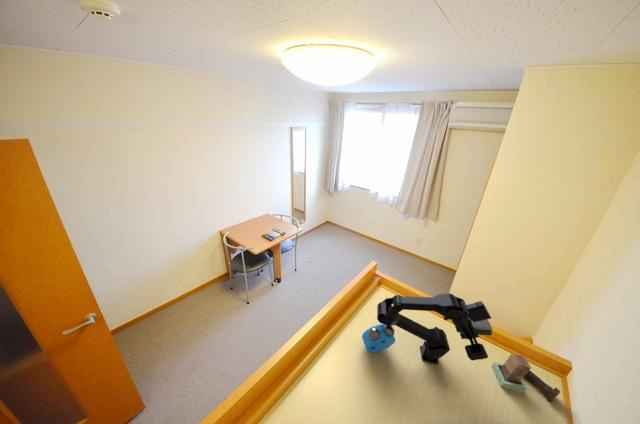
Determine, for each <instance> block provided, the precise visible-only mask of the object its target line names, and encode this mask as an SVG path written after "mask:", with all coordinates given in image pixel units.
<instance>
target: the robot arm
mask: <svg viewBox="0 0 640 424" xmlns="http://www.w3.org/2000/svg"><path fill="white" fill-rule="evenodd" d="M376 308H377V309H376V310H377V311H376V319H377V321H378V322H379V323H380V324H385V325H387V326H392V327H393V326H396V327H398V328H400V329H402V330H403V331H406V332H407V333H410V334H412V335H413V336H415V337H417V338H419V339H422V340H423V342H422V343H423V344H422V345H420V346H419V351H420V355H421V360H422V361H423V362H427V363H430V364H435V365H439V359H441V358H442V357H444V356H445V355H446V354H448V352H450V351H451V347H450V345H449V341H448V337H447V333H446V332H445V331H444V329H441V328H439V327H438V326H435V327H433V328H428V327H426V326H424V325H422V324H421V323H418V322H416V321H414V320H413V319H410V318H408V317H407V316H404V315H403V314H401V313H400V312H402V311H403V310H406V311H421V312H422V311H423V312H424V311H427V312H436V313H438V314H439V315H441V316H442V317H443V320H444V321H451V322H452V324H453V325H454V326H455V327H454V328H455V330H456V332H457V333H459V336H460V338H461V340H469V342H470V344H467V345H466V344H465V346H464V349H465V353H466V356H467V357H468V359H469V360H470V361H478V360H485V359H488V358H489V355H488V353H487V350H486V348H485V346H484V344H483V343H479V342H478V340H477V338H480V336H488V337H489V336H492V335H493V327H492V325H491V323H490V321H489V320H491V319H492V316H491V314H490V312H489V310H488V308H487V307H486V304H485V303H484V302H483V301H481V300H479V301H476V302H472V303H469V304H466V302H465V300H464V299H463V298H460V297H458V296H455V295H454V294H453V293H439V294H436V295H435V296H431V297H429V296H401V295H399V294H396V295H394V296H392V297H386V298H385V299H384V300H383V301H380V302H379V303H378V304H377V307H376Z"/></svg>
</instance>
